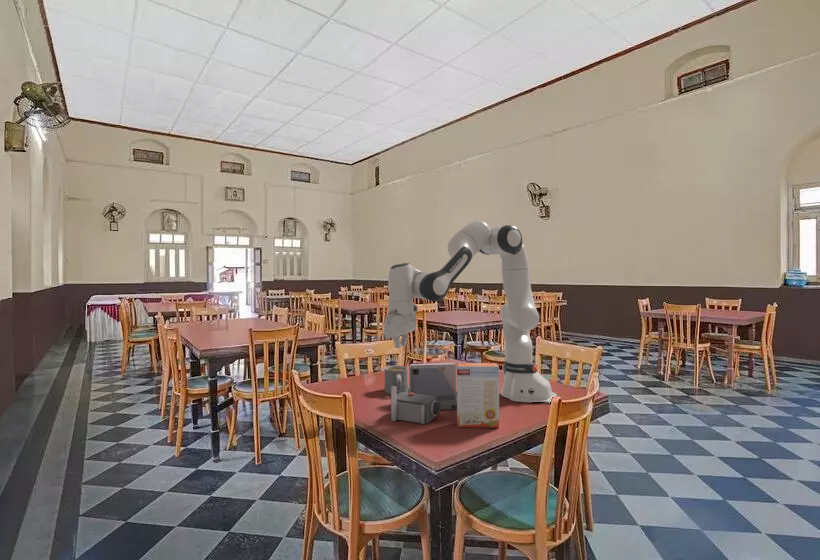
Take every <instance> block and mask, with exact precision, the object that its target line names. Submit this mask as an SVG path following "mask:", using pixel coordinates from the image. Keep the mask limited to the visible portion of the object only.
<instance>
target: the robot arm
mask: <svg viewBox="0 0 820 560" xmlns="http://www.w3.org/2000/svg"><path fill="white" fill-rule="evenodd" d="M447 252H448V254H449V256H450V258H449V260H447V262H446V263H445V264H444V265H443V266H442V267H441V268H439V270H437V271H433V272H423V271H422V270H420V269H417V268H415V267H414V266H413V265H412V264H411V263H409V262H408V263H407V262H404V263H398V264H397V263H396V264H394V265H392V266H391V267H390V268H389V272H388V281H387V282H388V286H387V287H388V288H387V289H388V292H389V294H388V295H389V296H388V299H387V300H388V301H387V302H388V303H387V304H388V305H387V307H388V310H387V312H388V313H387V315H386V316H385V319H384V327H383V335H384V337H385V338H389V339H393V340H392V341H393V343H394V348H396V349H400V348H402V347H404V346H405V347H406V346H407V340H408V336H409V333H412V332H414V331H416V329H417V312H418V306H417V305H416V304H415V303H414V298H416V299H421V300H427V301H431V302H440V301H441V300H443V299H445V297H446V296H447V294H448V293H449V290H450V288H451V286H452V285H453V283H454V282H455V280H456V279H457V278H458V277H459V276H460V274H462V272H463V271H464V270H465V269H466V268H467V266H468V265H469V264H470V262H471V261H472V259H473V258H474V256H475V255H477V254H478V253H481V254H482V255H486V256H487V255H499V257H500V258H501V259H500V260H501V274H502V285H503V286H502V287H503V288H502V289H503V291H504V293H505V297H506V301H507V302H506V303H505V304H503V305H502V306H501V308H500V318H501V323H502V329H503V330H502V331H503V336H504V362H503V375H504V377H503V384H502V388H501V392H500V395H501V396H502V397H504V398H507V399H509V400H510V401H512V402H518V403H519V402H520V403H532V402H548V403H549V404H550V402H551V399H552V397H555V396H557V397H558V394H557V393H556V392H553V391H552V386H551V382H550V381H549V380H548V379H547V378H546V377H544V376H543V375H542V374H541V373H540V372H538V363H535V362H534V361H533V341H532V339H531V335H530V331H531V330H534V329H535V328H536V327H537V326H538V324H539V323H540V313H539V311H538V309H537V307H536V304H535V299H534V294H533V292H532V291H533V290H532V284H531V276H530V275H531V272H530V263H529V262H530V261H529V257H528V252H527V248H526V246H525V245H524V244H523V236H522V233H521V231H520V230H519V228H518V227H517V226H515V225H509V224H506V225H498V226H492V227H490V226H489V225H488V224H487V223H486V222H485V221H483V220H480V219H478V220H477V219H475V220H473V221H472V222H470V223H467V225H465V226H463V228H461V229H460V230H459V231H458V232H456V233H455V234H454V235H453V236H452V238H450V240H449V241H448V243H447ZM400 339H401V340H400ZM548 403H547V404H548ZM549 404H548V405H549Z"/></svg>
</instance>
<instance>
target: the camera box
mask: <svg viewBox="0 0 820 560" xmlns="http://www.w3.org/2000/svg"><path fill="white" fill-rule="evenodd" d="M397 402H402V403H410V404H417V405H424V424H429V423H431V422H432V420H434V419H435V418H436V417H437V416H438V415H440V412H441V410H440V403H439V402H437V396H431V395H423V394H414V393H413V392H409V393H408V392H407V393H406V392H401V393H399V394H397Z"/></svg>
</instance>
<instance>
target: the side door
mask: <svg viewBox="0 0 820 560" xmlns="http://www.w3.org/2000/svg"><path fill="white" fill-rule="evenodd" d="M390 395H391V398H390V403H391V404H390V418H391V421H392V422H396V421H397V420H399V421H405V422H411V423H418V424H422V425H423V424H425V423H424V405H417V404H410V403H402V402H397V395H398V394H397V387H396V386H392V387H391V394H390Z"/></svg>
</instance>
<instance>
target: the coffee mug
mask: <svg viewBox="0 0 820 560" xmlns="http://www.w3.org/2000/svg"><path fill="white" fill-rule="evenodd" d="M392 386H396V387H397V395H398V394H399V393H401V392H407V393H408V389H407V387H408V386H409V367H408V366H404V365H390V366H386V367H384V392H385V394H388V395H391V387H392Z"/></svg>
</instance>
